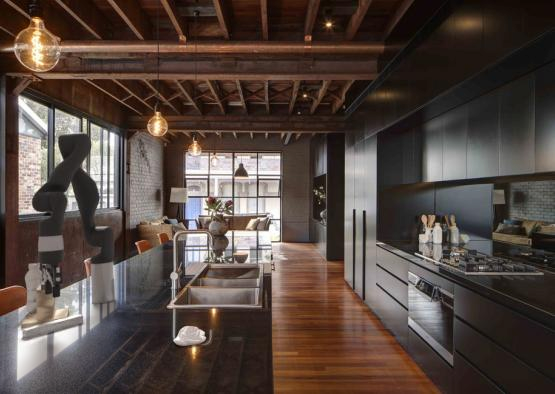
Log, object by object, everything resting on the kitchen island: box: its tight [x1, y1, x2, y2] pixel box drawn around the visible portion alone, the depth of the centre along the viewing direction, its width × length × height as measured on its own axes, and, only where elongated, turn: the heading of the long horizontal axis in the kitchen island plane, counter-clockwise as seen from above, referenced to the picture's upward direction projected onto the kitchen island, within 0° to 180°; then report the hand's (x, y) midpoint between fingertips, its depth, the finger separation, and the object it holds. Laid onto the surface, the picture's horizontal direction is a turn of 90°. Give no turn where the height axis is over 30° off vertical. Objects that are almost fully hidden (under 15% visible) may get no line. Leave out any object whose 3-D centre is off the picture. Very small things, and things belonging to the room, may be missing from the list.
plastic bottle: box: [24, 262, 43, 314], centre depth 149 cm, size 6×7×20 cm
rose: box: [173, 325, 207, 347], centre depth 111 cm, size 10×4×10 cm
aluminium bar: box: [21, 313, 84, 339], centre depth 127 cm, size 18×3×3 cm, turn 142°
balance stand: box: [20, 282, 70, 329], centre depth 138 cm, size 14×14×14 cm
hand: (52, 295), depth 127 cm, fingers open, 8 cm apart
